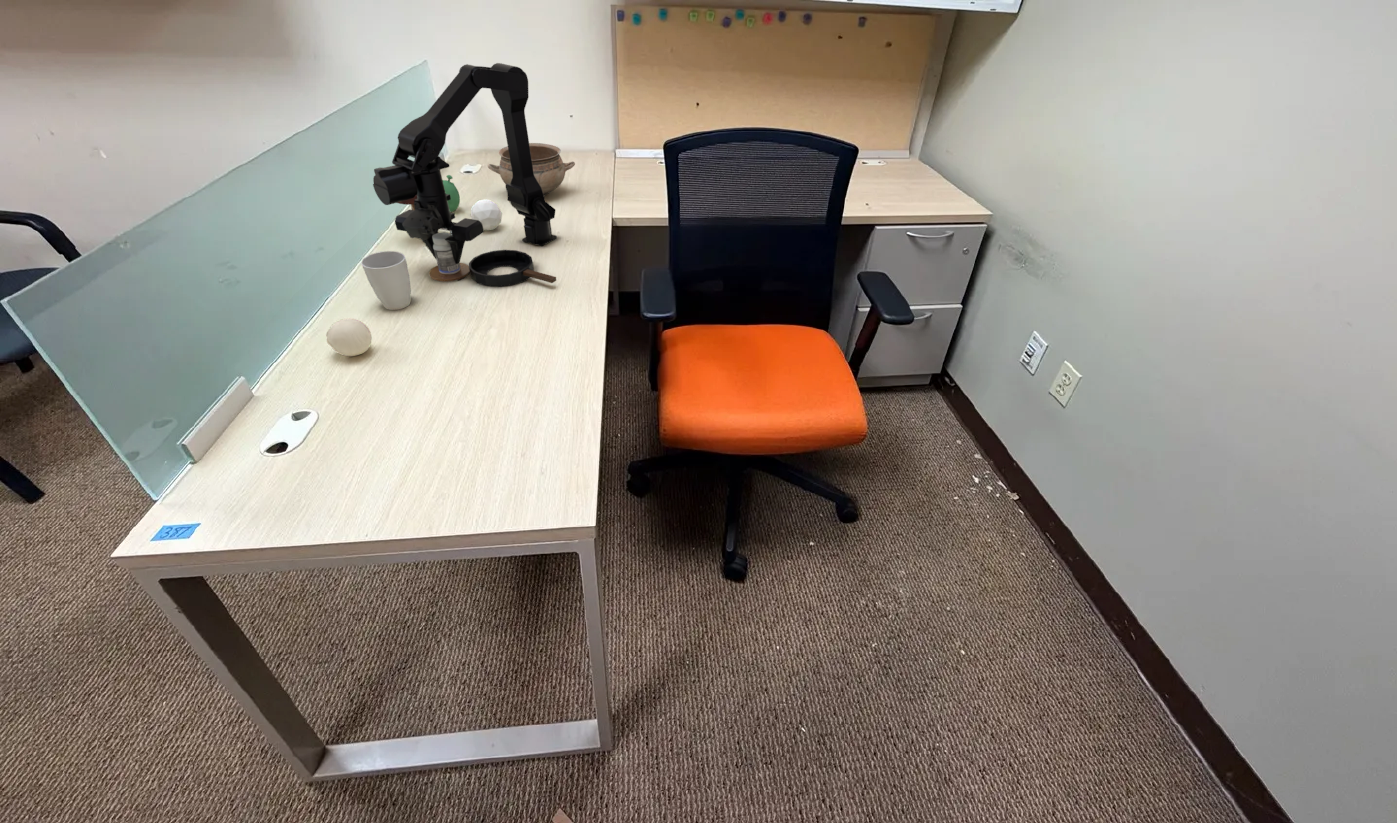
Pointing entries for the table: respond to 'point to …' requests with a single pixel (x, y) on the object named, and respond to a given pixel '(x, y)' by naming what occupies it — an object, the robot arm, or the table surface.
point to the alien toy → (451, 194)
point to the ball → (487, 214)
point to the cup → (389, 278)
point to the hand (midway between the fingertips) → (448, 261)
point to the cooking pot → (537, 166)
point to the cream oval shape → (349, 337)
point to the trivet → (439, 276)
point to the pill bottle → (444, 254)
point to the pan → (504, 258)
